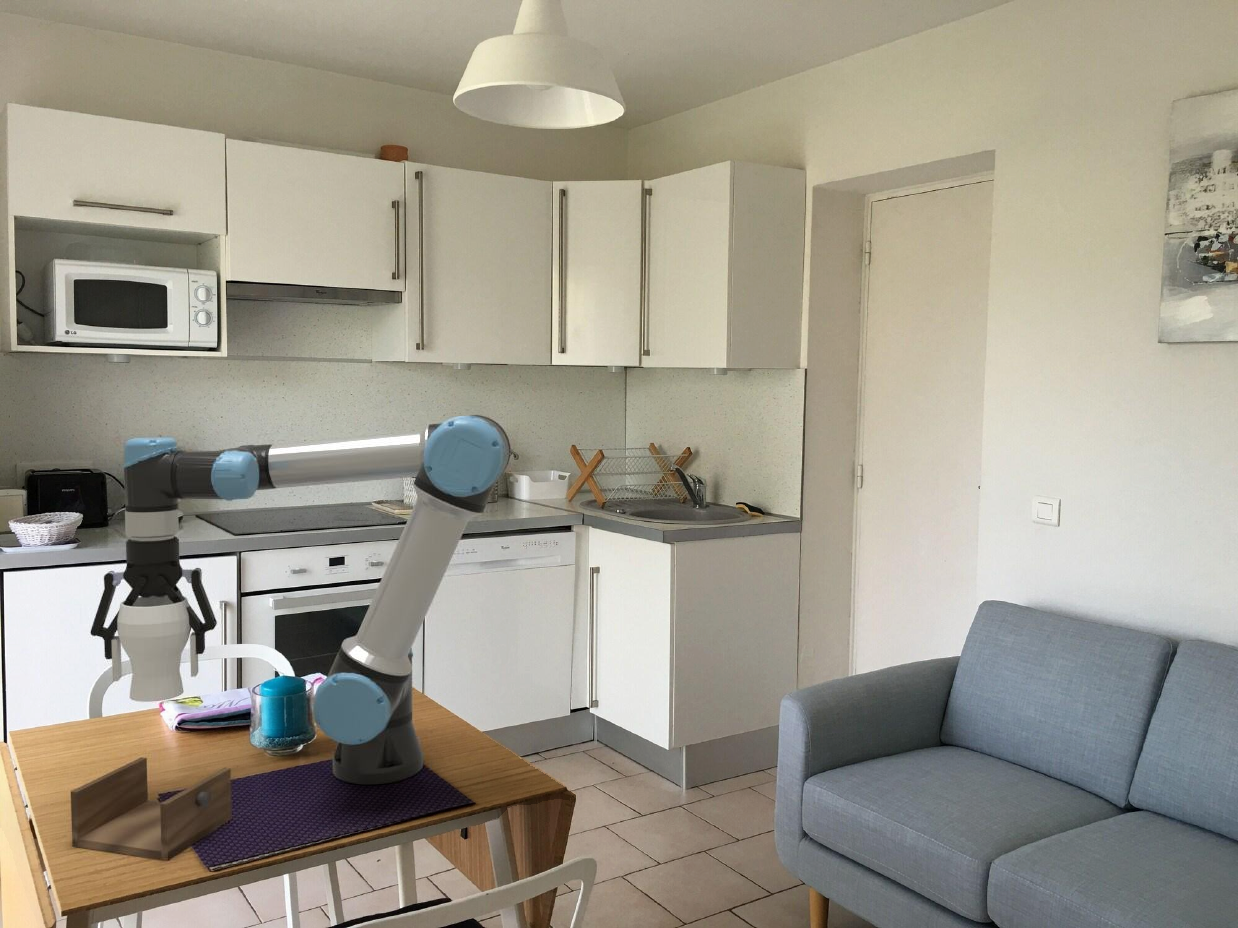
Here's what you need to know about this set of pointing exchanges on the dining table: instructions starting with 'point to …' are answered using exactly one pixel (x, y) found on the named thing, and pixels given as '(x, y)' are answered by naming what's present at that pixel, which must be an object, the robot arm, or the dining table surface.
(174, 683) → the cup
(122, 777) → the holder
